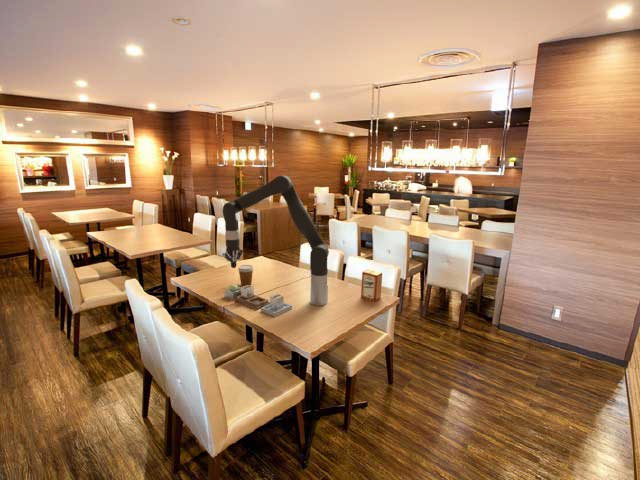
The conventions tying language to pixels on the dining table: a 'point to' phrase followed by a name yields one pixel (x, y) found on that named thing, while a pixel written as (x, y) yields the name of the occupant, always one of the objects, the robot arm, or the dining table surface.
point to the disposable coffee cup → (245, 274)
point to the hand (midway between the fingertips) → (233, 267)
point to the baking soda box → (371, 284)
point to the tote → (271, 312)
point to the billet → (276, 302)
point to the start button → (234, 288)
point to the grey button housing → (232, 293)
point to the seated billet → (247, 292)
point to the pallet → (253, 302)
